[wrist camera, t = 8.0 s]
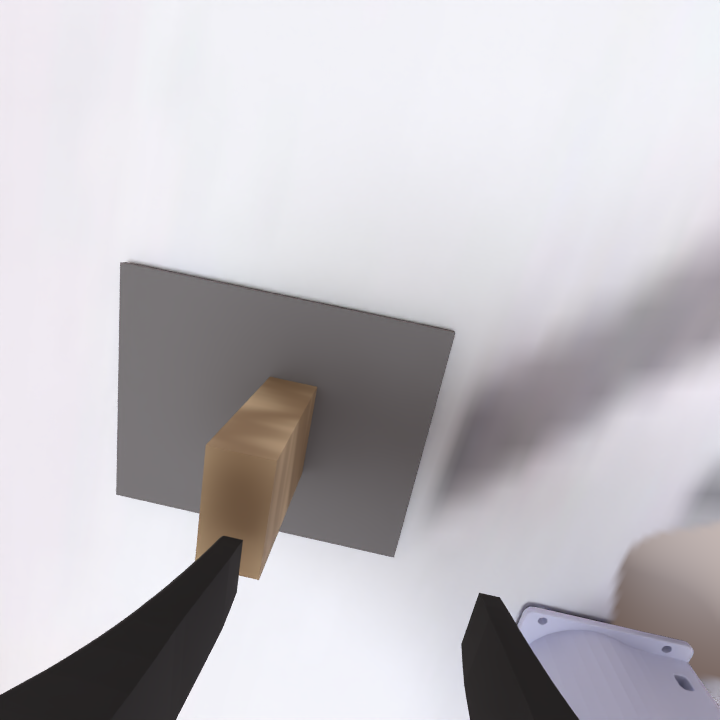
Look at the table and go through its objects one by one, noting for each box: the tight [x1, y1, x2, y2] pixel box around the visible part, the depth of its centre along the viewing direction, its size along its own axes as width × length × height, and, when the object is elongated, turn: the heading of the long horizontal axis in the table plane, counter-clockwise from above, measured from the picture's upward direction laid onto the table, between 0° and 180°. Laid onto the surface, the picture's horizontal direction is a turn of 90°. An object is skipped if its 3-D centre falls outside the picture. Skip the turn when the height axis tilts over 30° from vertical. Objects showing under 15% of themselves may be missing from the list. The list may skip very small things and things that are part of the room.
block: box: [195, 377, 317, 580], centre depth 17 cm, size 2×5×7 cm, turn 169°
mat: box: [116, 262, 455, 557], centre depth 21 cm, size 16×13×1 cm
